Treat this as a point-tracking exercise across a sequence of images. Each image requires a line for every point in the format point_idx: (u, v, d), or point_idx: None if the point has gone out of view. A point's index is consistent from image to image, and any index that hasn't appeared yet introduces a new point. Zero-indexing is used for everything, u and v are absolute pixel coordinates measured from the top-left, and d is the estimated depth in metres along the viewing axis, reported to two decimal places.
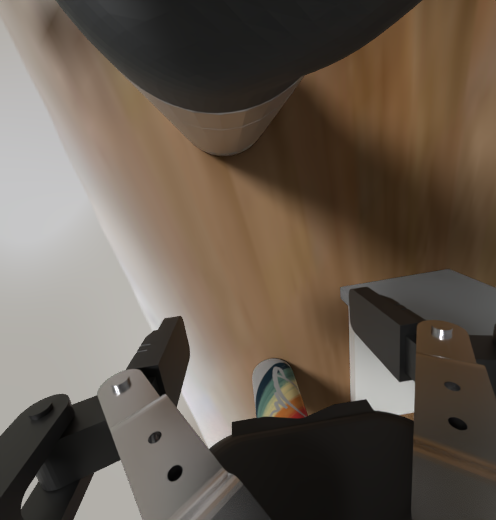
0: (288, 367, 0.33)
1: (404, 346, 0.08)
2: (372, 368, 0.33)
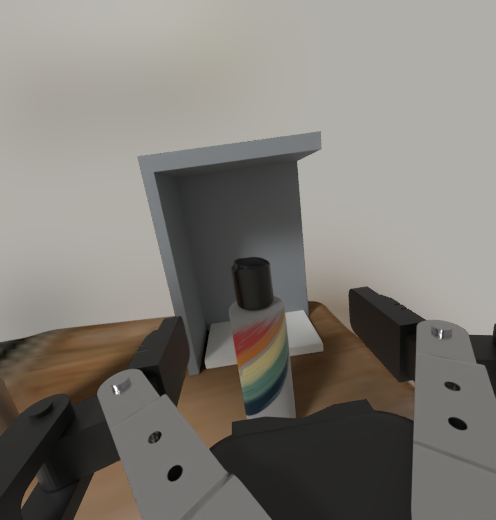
0: None
1: (404, 346, 0.08)
2: None
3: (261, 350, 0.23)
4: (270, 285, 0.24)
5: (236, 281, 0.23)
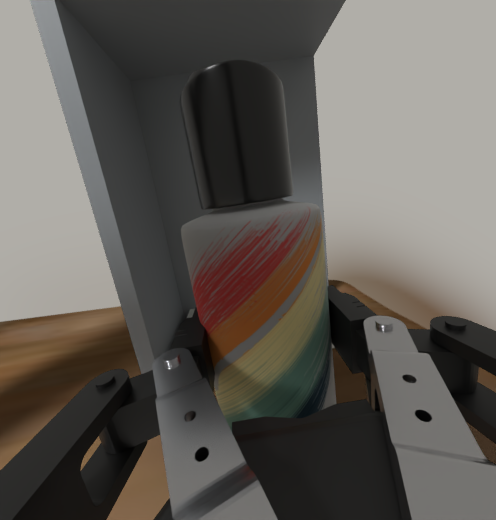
0: None
1: (355, 340, 0.09)
2: None
3: (265, 318, 0.08)
4: (285, 142, 0.09)
5: (190, 124, 0.08)
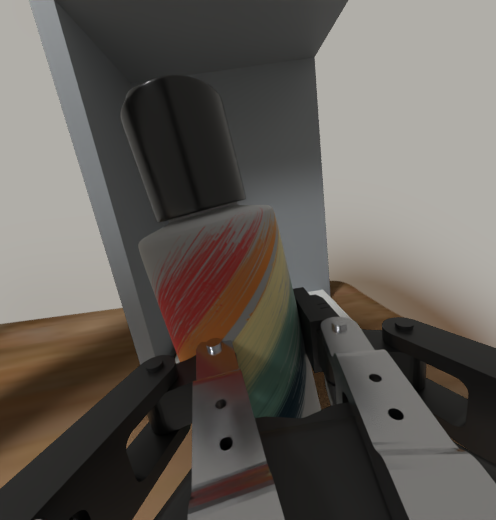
0: None
1: (315, 340, 0.09)
2: None
3: (233, 321, 0.08)
4: (231, 149, 0.09)
5: (133, 139, 0.08)
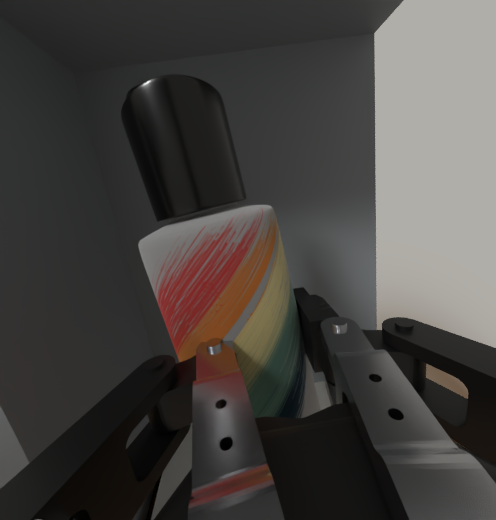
0: None
1: (315, 340, 0.09)
2: None
3: (233, 321, 0.08)
4: (231, 149, 0.09)
5: (134, 138, 0.08)
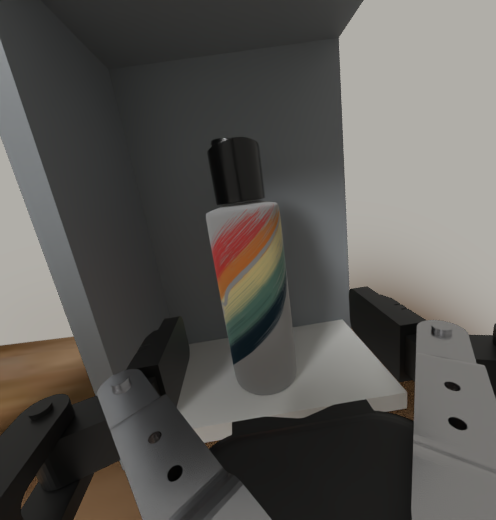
0: None
1: (404, 346, 0.08)
2: None
3: (254, 256, 0.17)
4: (260, 172, 0.18)
5: (215, 163, 0.17)
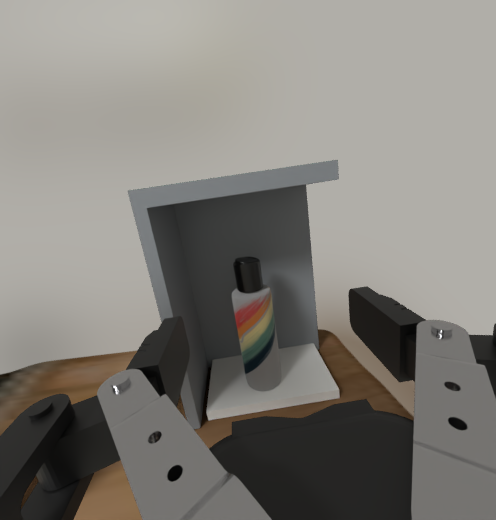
0: None
1: (404, 346, 0.08)
2: None
3: (257, 320, 0.34)
4: (261, 275, 0.34)
5: (238, 273, 0.33)
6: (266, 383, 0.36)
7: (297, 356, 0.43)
